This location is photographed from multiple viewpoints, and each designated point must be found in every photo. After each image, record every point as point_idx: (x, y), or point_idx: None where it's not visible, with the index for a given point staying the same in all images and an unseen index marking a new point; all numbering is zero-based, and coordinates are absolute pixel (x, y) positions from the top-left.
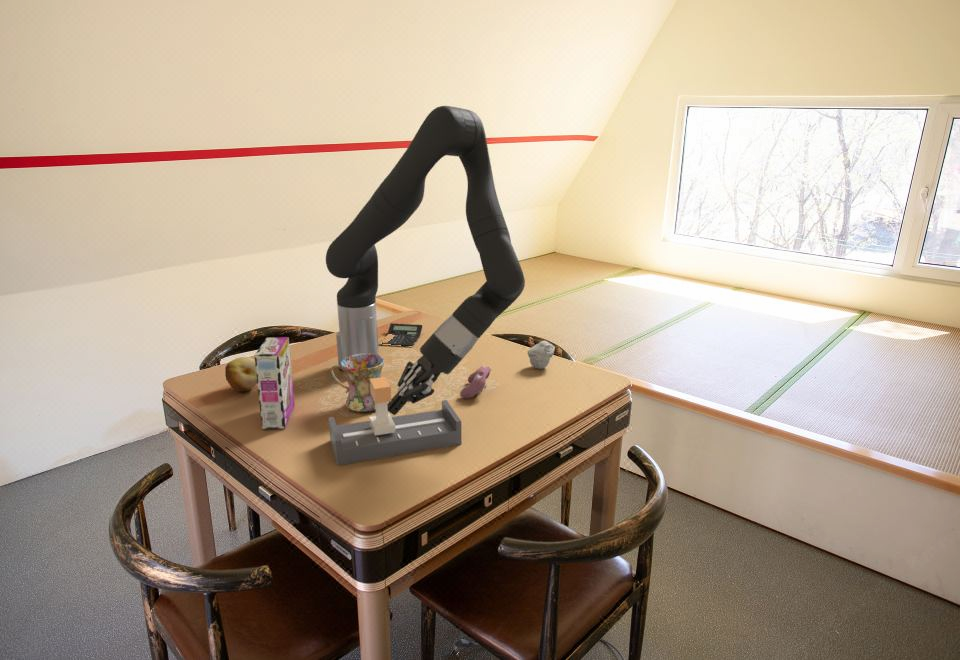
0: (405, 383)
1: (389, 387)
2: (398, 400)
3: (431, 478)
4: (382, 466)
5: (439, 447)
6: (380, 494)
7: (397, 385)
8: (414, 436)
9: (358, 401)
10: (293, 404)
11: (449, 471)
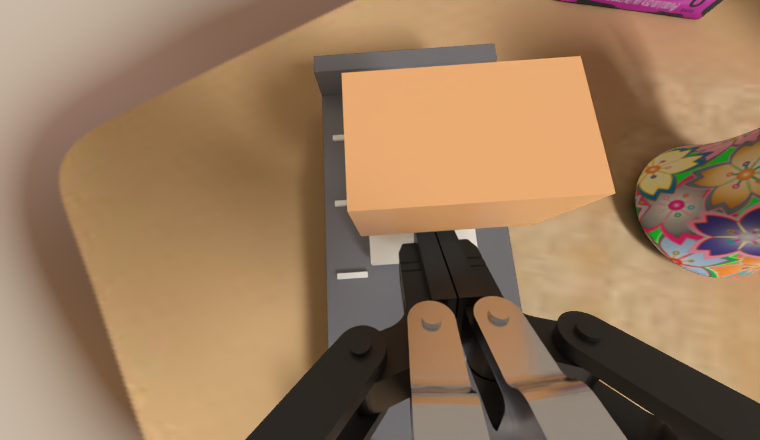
0: (512, 385)
1: (350, 202)
2: (413, 290)
3: (176, 340)
4: (288, 216)
5: None
6: (160, 195)
7: (572, 312)
8: (338, 332)
9: (678, 172)
10: (694, 5)
11: (190, 406)
